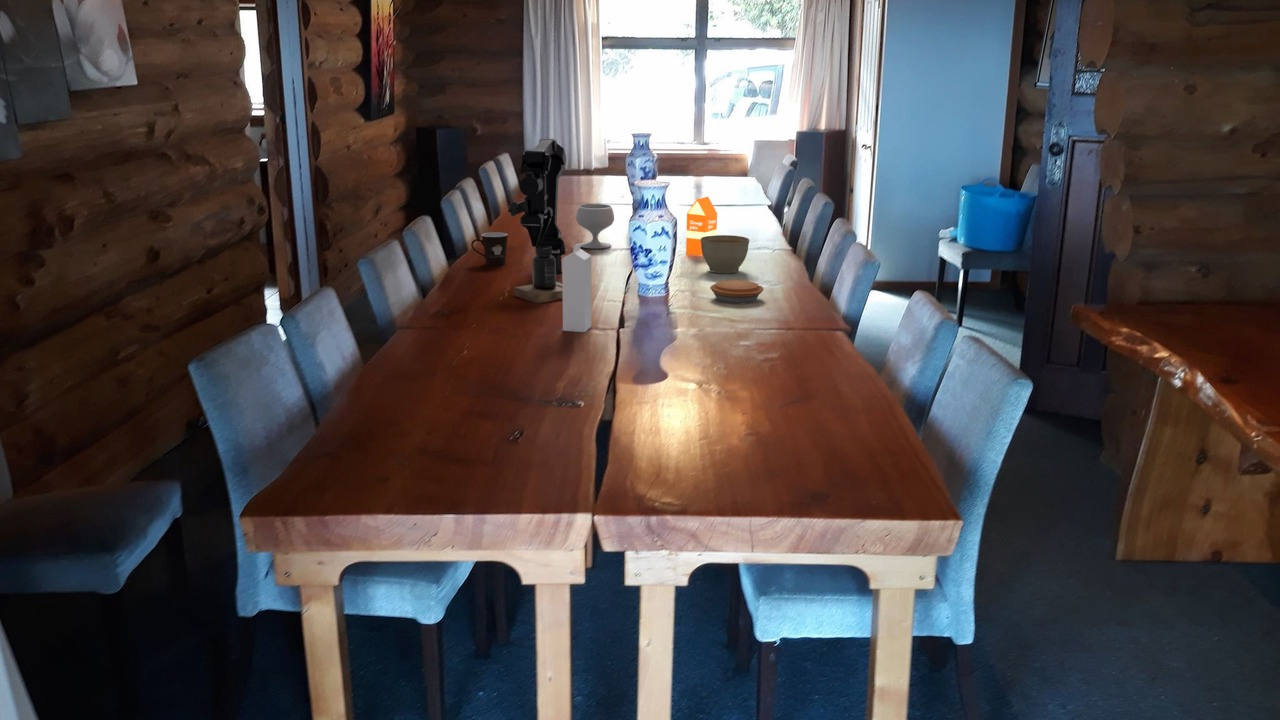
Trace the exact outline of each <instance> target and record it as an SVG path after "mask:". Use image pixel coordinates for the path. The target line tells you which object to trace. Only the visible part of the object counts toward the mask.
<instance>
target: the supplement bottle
mask: <svg viewBox="0 0 1280 720" xmlns="http://www.w3.org/2000/svg"><path fill="white" fill-rule="evenodd" d="M534 250H535V253H534V254H535V256H533V258H532V260H531V262H532V284H533V287H534V288H535V289H540V290H548V289H553V288H555V287H556V282H557V274H556V260H555V257H554V256H552V255H551V254H552V247H550V246H538V247H535V248H534Z"/></svg>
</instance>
